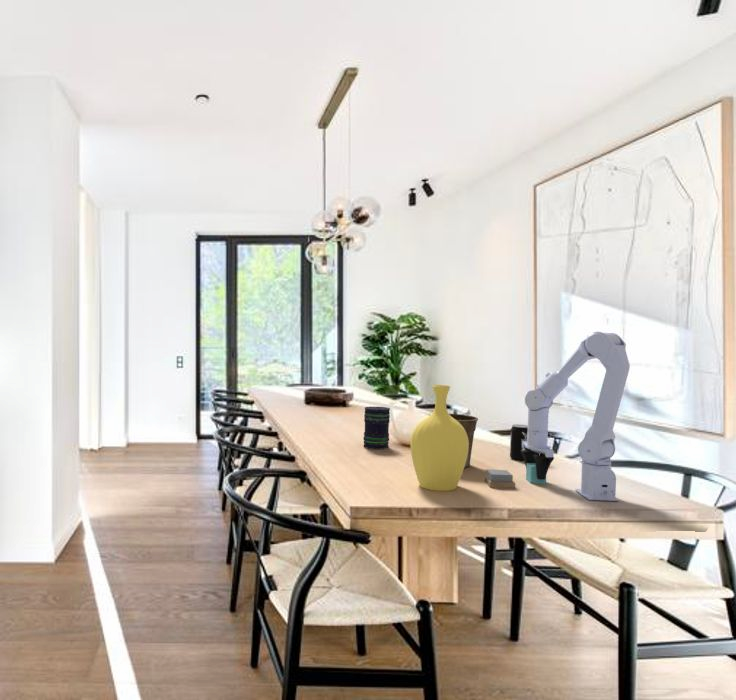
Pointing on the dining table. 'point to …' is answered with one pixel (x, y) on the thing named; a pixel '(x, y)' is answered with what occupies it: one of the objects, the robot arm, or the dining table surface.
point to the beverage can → (517, 441)
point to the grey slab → (499, 475)
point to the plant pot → (467, 430)
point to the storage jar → (376, 427)
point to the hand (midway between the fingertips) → (536, 476)
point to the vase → (439, 447)
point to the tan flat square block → (499, 484)
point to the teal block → (533, 474)
